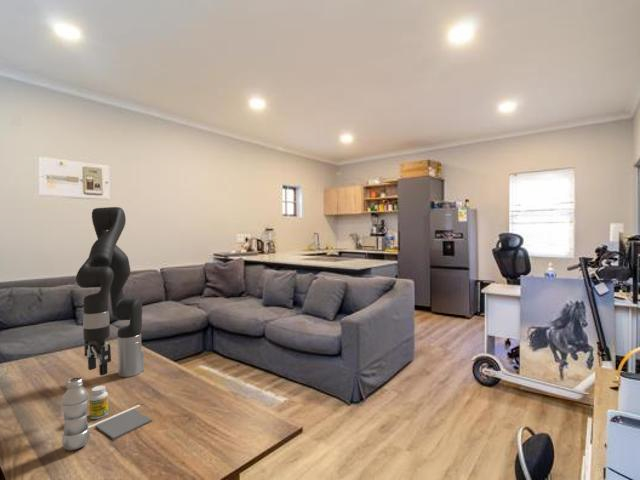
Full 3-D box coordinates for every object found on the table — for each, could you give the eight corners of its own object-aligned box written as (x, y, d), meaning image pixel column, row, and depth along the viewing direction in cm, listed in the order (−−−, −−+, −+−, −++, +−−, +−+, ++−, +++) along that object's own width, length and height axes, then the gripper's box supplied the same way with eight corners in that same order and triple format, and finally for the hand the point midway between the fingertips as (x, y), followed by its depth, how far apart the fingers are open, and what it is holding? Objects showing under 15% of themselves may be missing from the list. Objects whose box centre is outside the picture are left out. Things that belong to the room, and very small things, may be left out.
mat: (133, 410, 119) (133, 409, 119) (152, 421, 113) (152, 419, 112) (95, 427, 109) (95, 425, 109) (113, 439, 103) (113, 437, 103)
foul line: (138, 405, 123) (138, 404, 123) (140, 406, 122) (140, 405, 122) (75, 433, 106) (75, 432, 106) (76, 434, 106) (76, 433, 106)
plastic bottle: (71, 440, 102) (69, 375, 102) (94, 439, 103) (93, 374, 102) (56, 454, 96) (54, 385, 95) (81, 453, 97) (79, 384, 96)
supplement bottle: (108, 409, 120) (107, 383, 120) (108, 416, 116) (108, 388, 116) (90, 414, 117) (89, 387, 117) (89, 421, 113) (88, 393, 113)
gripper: (118, 325, 115) (119, 372, 115) (99, 319, 123) (100, 364, 123) (93, 330, 109) (94, 380, 109) (75, 324, 117) (76, 371, 117)
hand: (97, 371), depth 116 cm, fingers open, 8 cm apart
